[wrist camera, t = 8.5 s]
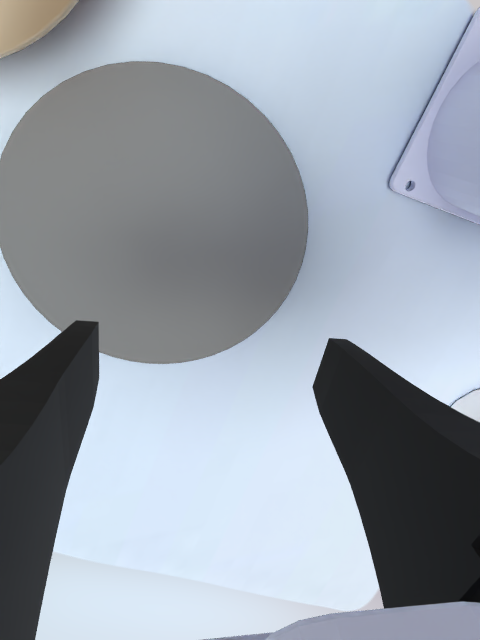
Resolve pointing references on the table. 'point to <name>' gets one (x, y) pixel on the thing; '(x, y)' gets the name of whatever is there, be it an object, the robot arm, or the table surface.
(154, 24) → the table surface
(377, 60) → the table surface
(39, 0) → the lid
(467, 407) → the white cup
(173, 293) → the mat
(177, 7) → the table surface
